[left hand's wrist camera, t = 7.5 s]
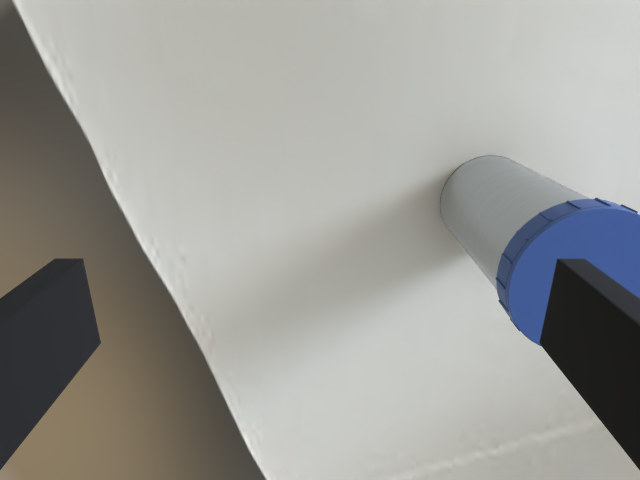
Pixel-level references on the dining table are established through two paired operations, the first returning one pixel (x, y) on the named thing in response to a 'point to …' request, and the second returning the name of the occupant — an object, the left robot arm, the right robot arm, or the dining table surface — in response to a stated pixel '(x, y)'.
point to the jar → (495, 206)
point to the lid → (566, 255)
